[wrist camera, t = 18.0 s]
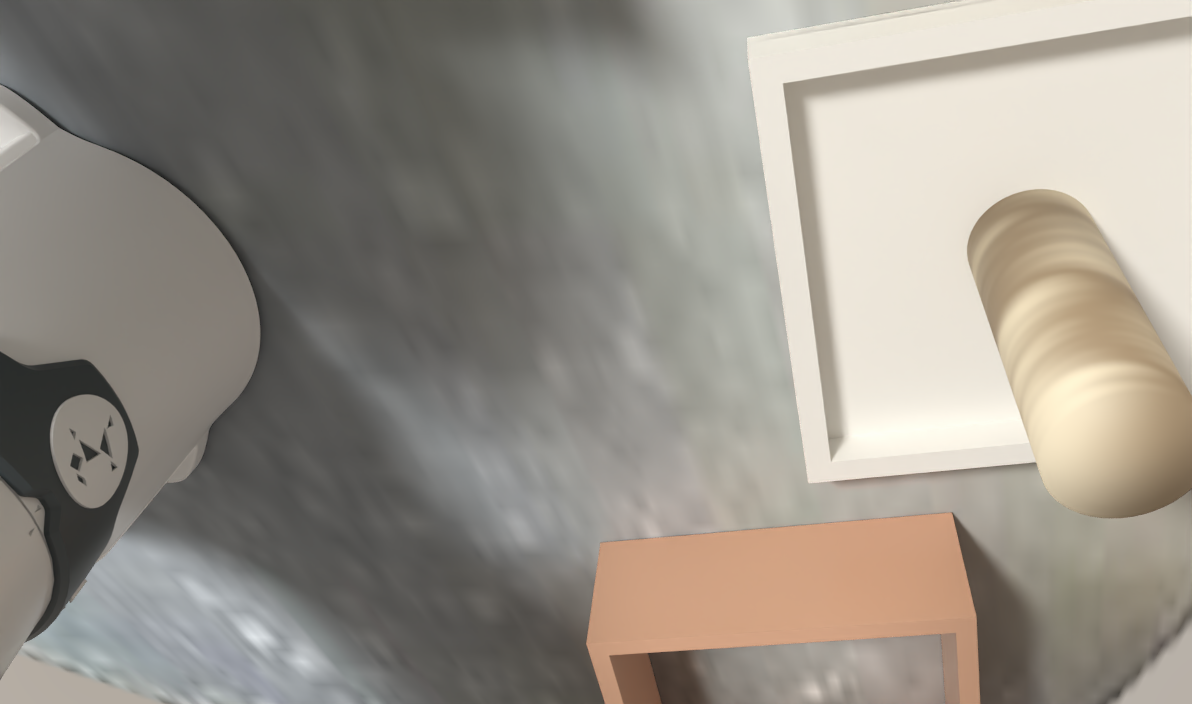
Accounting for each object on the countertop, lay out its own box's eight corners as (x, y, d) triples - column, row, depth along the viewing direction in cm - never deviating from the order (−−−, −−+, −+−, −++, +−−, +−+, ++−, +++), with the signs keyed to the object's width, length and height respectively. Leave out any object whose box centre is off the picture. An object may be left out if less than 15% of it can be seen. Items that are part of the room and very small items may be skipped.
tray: (805, 450, 47) (808, 483, 46) (747, 37, 38) (747, 59, 36) (1271, 404, 44) (1293, 438, 42) (1337, -66, 34) (1369, -47, 32)
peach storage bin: (660, 755, 60) (654, 860, 55) (600, 542, 52) (586, 643, 47) (964, 741, 57) (986, 851, 52) (952, 512, 48) (976, 617, 43)
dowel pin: (968, 303, 42) (1039, 524, 32) (964, 199, 40) (1039, 402, 30) (1094, 288, 41) (1206, 510, 31) (1097, 180, 39) (1220, 383, 29)
